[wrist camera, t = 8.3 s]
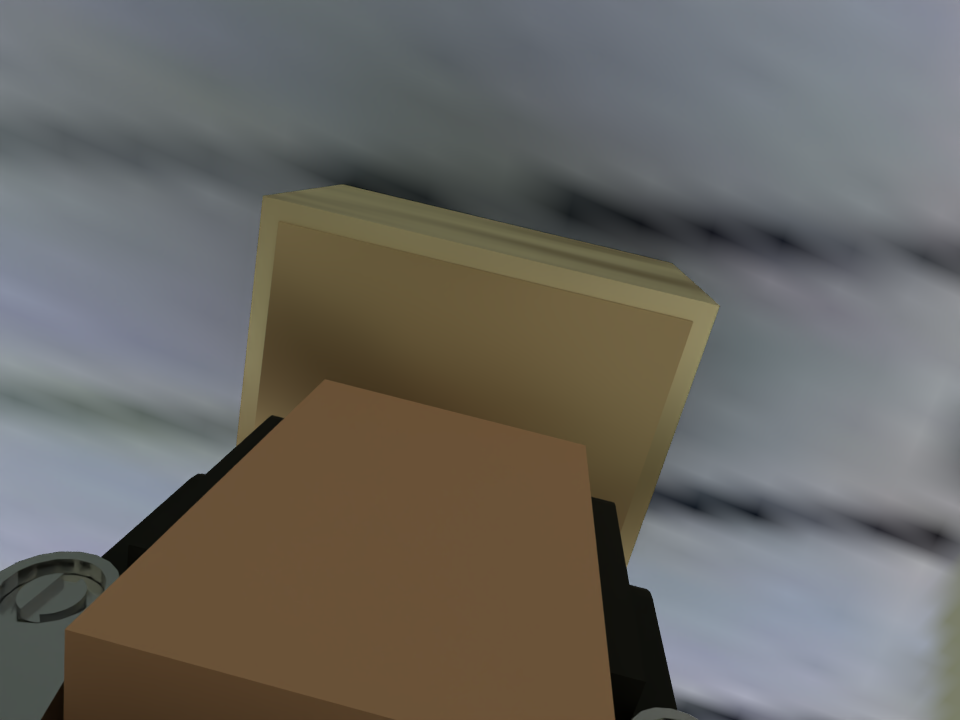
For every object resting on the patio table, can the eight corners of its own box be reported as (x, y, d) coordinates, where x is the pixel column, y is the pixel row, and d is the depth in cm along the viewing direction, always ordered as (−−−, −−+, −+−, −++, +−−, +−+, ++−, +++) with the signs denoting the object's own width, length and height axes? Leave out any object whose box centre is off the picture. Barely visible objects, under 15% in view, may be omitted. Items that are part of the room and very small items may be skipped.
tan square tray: (342, 184, 17) (260, 195, 12) (671, 263, 17) (720, 306, 12) (300, 474, 20) (220, 576, 15) (580, 545, 20) (590, 673, 15)
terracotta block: (324, 379, 11) (64, 629, 5) (585, 445, 11) (621, 781, 5) (292, 593, 12) (59, 977, 6) (520, 655, 12) (490, 1104, 6)
